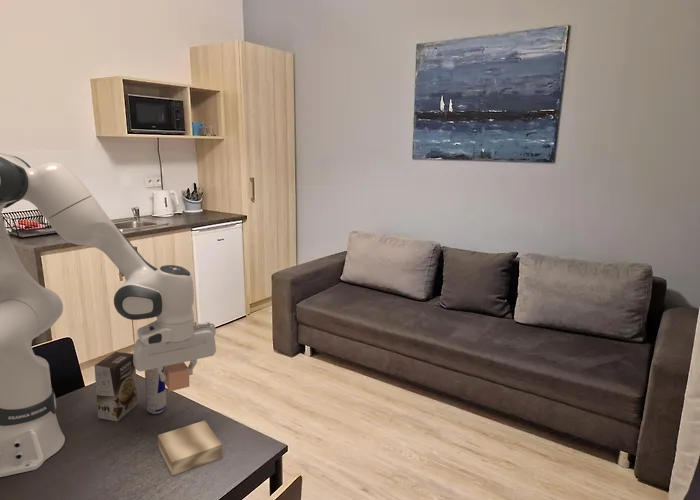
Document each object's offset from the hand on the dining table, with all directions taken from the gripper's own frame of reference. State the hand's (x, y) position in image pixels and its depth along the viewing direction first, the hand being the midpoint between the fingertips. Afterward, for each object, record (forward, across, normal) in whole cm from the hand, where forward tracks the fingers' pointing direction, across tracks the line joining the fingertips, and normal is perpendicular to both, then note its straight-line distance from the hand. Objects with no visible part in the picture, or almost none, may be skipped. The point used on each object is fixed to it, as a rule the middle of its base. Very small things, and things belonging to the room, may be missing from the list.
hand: (176, 377), depth 124 cm
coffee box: (+16, +11, -17) cm, 26 cm away
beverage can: (+16, +2, -12) cm, 20 cm away
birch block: (+16, 0, +11) cm, 19 cm away
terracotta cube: (+2, 0, 0) cm, 2 cm away
